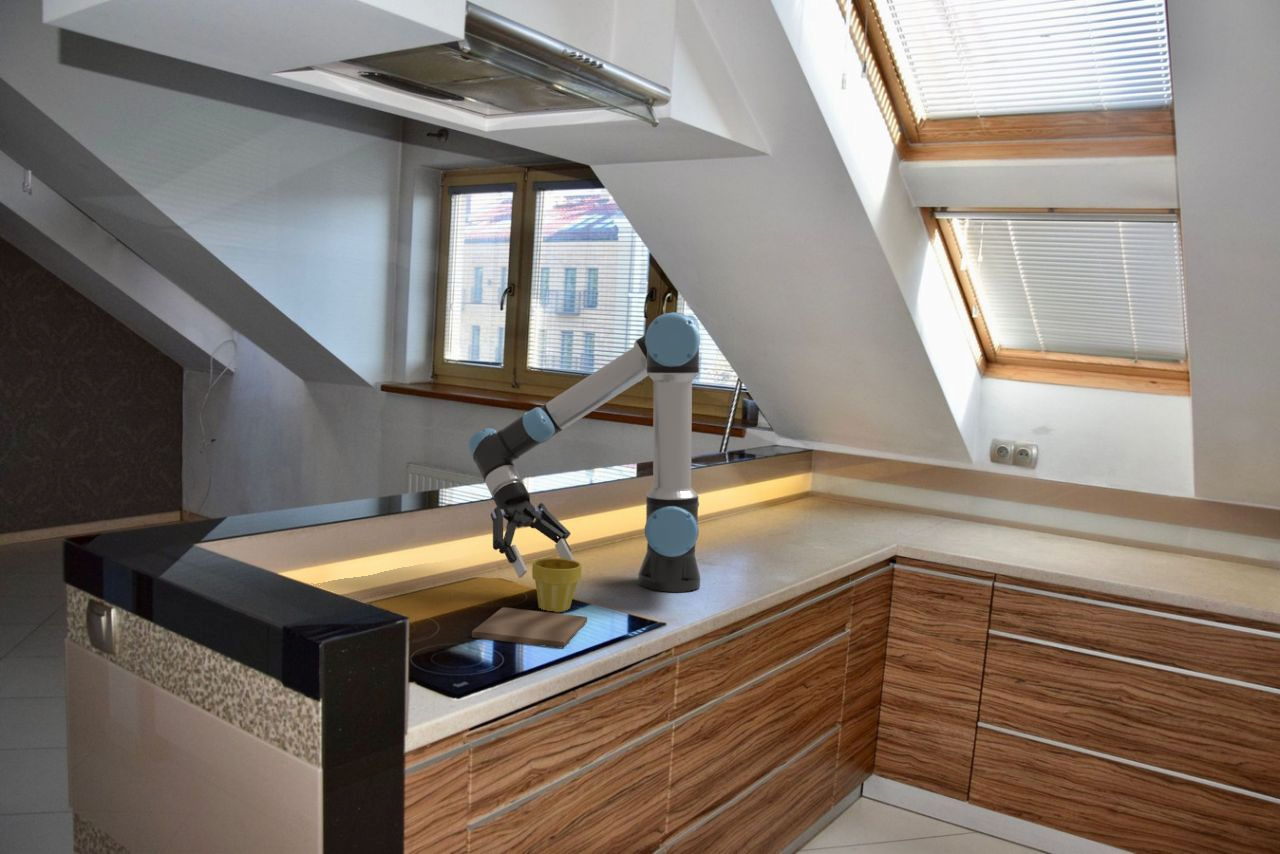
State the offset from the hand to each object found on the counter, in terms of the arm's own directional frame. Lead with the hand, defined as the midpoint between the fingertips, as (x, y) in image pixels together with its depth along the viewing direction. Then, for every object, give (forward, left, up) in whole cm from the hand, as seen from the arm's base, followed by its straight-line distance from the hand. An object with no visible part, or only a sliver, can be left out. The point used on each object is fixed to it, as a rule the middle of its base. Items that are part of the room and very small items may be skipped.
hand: (548, 570), depth 204 cm
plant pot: (-2, +1, -8) cm, 8 cm away
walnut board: (-2, +18, -8) cm, 19 cm away
